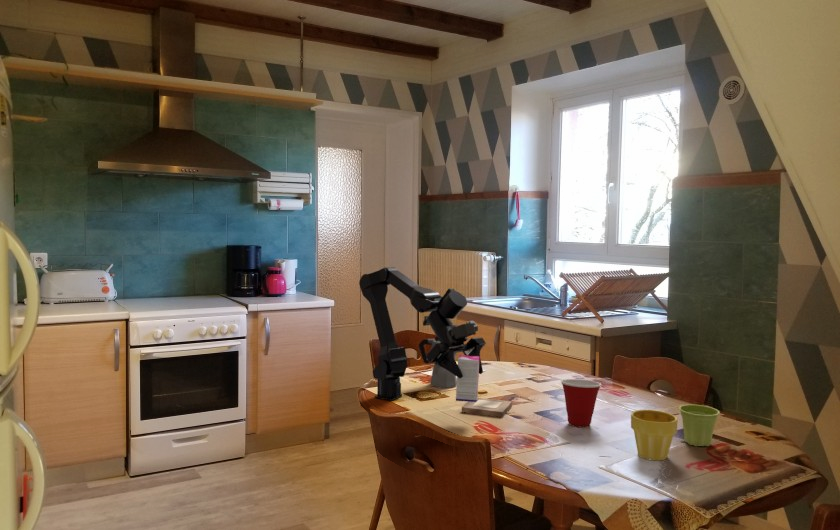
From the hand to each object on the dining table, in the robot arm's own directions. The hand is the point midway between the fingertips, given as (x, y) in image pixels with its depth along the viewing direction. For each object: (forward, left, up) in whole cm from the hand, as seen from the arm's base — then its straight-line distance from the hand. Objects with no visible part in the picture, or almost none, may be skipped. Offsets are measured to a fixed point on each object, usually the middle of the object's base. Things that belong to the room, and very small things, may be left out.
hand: (471, 375), depth 180 cm
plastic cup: (+25, +16, -13) cm, 33 cm away
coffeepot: (-27, +33, -13) cm, 45 cm away
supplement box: (-1, 0, -7) cm, 7 cm away
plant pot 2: (+55, +17, -13) cm, 59 cm away
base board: (-2, +15, -13) cm, 20 cm away
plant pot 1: (+47, +1, -13) cm, 49 cm away
